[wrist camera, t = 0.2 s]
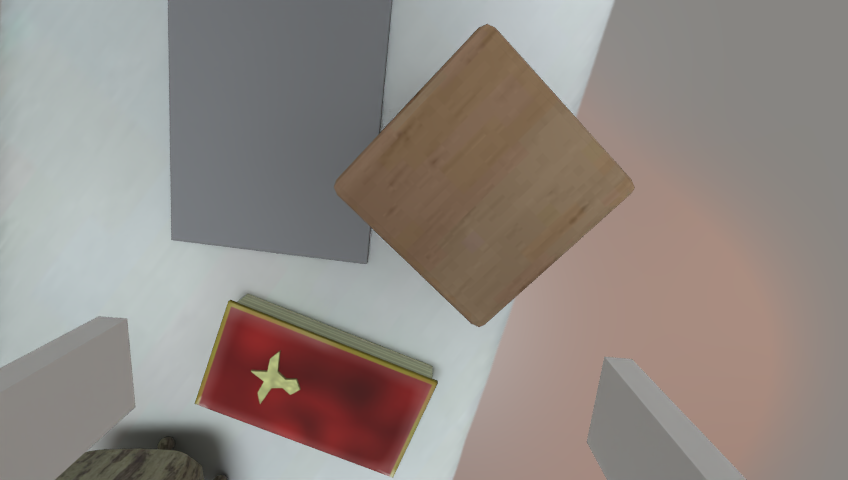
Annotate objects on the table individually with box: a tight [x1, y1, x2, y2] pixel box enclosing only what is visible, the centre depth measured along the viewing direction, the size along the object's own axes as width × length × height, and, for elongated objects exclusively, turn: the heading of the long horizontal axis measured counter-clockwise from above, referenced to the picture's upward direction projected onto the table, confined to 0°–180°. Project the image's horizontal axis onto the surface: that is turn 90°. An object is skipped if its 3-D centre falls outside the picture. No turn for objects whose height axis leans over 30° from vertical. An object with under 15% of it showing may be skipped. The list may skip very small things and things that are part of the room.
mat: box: [168, 0, 392, 264], centre depth 37 cm, size 24×19×1 cm
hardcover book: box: [195, 294, 438, 477], centre depth 41 cm, size 12×21×4 cm, turn 67°
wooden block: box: [334, 24, 634, 327], centre depth 28 cm, size 10×10×20 cm
